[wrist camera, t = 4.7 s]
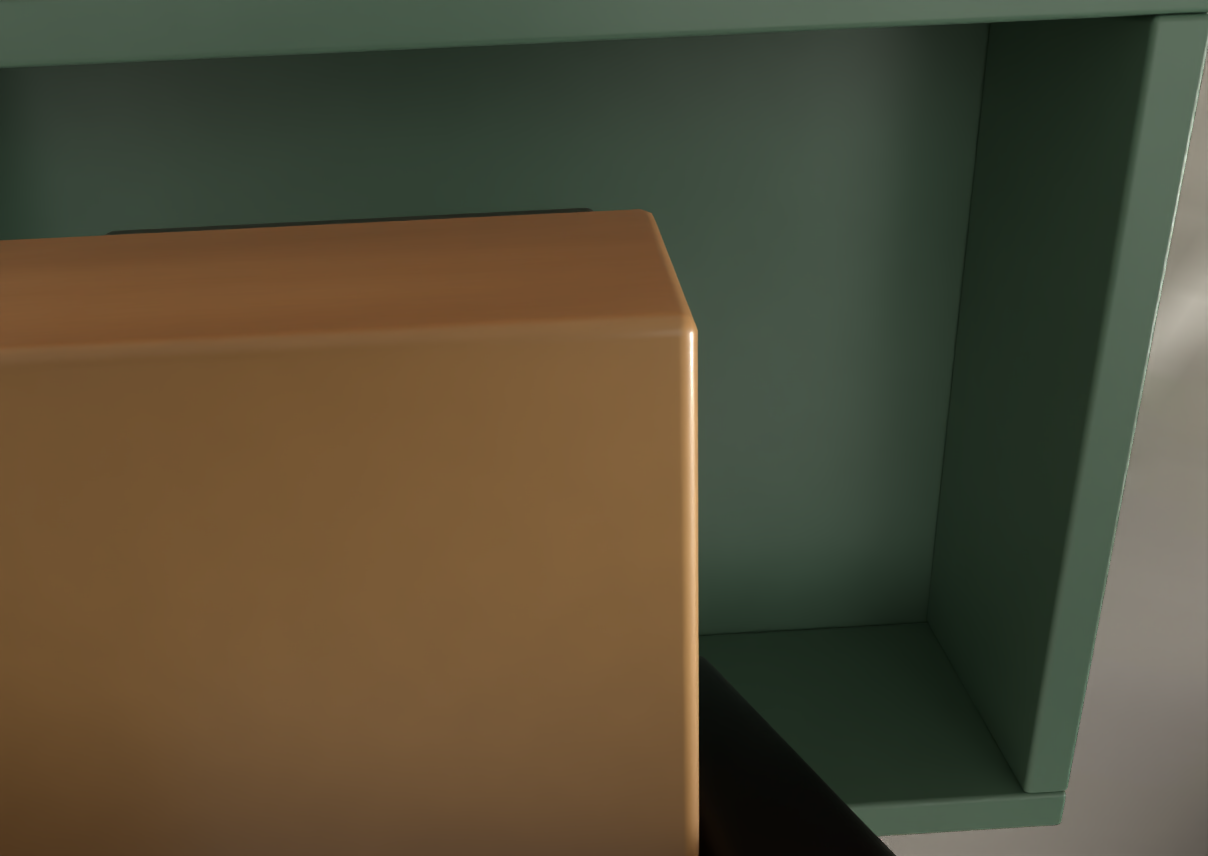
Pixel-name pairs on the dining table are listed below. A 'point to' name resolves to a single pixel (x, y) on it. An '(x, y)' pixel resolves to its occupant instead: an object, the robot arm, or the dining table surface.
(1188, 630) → the dining table surface
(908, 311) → the green tub
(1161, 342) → the dining table surface
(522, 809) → the tan wooden block
